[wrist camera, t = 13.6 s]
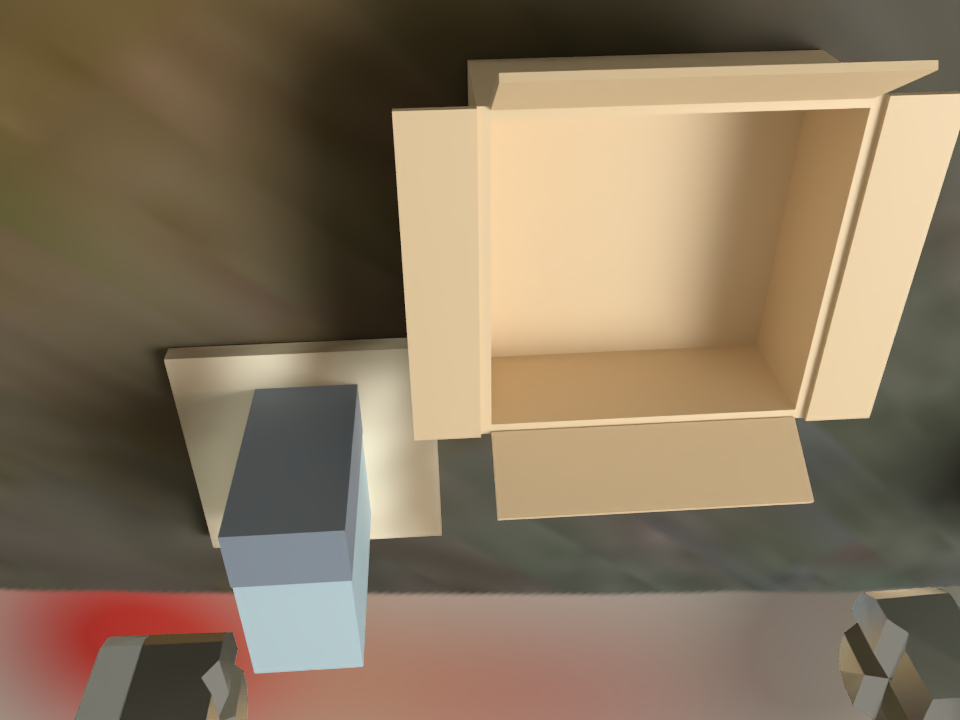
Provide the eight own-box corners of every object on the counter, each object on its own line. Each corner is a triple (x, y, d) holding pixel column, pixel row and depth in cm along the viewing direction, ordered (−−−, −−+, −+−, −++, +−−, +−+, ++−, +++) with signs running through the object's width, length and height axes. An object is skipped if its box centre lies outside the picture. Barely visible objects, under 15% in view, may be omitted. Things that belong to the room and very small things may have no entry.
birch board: (432, 336, 43) (432, 347, 42) (441, 522, 50) (441, 535, 50) (168, 348, 42) (163, 359, 42) (216, 535, 50) (213, 547, 49)
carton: (905, -6, 35) (1047, 58, 27) (808, 376, 46) (889, 501, 38) (391, 7, 34) (385, 77, 26) (416, 395, 45) (417, 527, 37)
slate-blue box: (357, 384, 43) (345, 530, 35) (372, 513, 48) (364, 668, 40) (255, 389, 43) (217, 537, 35) (280, 518, 48) (253, 675, 40)
